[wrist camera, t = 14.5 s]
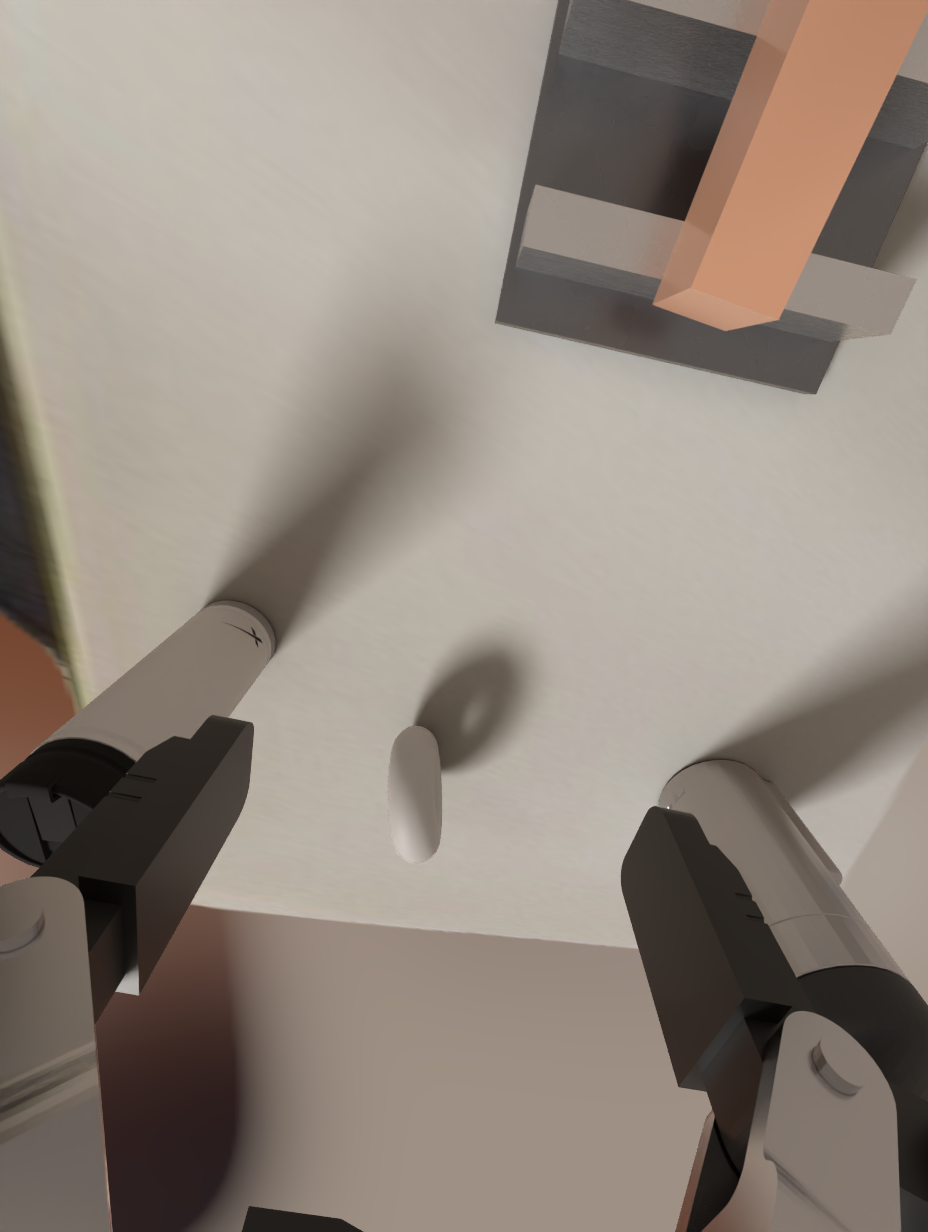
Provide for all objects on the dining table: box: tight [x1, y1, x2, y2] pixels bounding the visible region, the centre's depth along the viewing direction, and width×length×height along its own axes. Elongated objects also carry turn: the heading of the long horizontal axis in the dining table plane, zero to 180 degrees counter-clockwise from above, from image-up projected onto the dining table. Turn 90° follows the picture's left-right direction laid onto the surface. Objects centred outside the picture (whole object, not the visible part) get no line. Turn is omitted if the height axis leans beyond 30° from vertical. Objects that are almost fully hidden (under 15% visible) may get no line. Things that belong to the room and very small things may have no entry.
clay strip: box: [652, 0, 928, 331], centre depth 21 cm, size 4×14×5 cm, turn 163°
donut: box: [388, 726, 442, 864], centre depth 40 cm, size 10×4×10 cm, turn 3°
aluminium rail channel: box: [495, 0, 928, 394], centre depth 26 cm, size 20×17×6 cm
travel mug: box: [0, 600, 276, 868], centre depth 31 cm, size 6×7×20 cm
